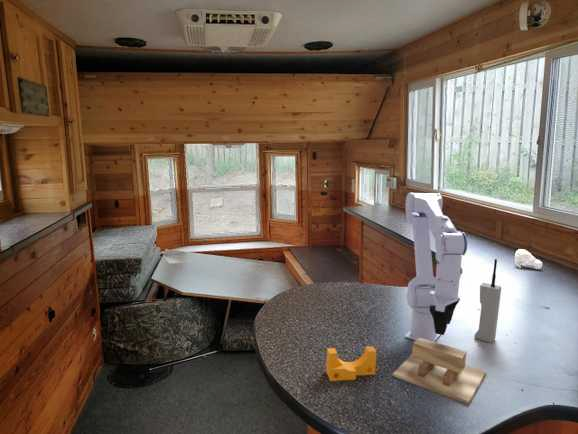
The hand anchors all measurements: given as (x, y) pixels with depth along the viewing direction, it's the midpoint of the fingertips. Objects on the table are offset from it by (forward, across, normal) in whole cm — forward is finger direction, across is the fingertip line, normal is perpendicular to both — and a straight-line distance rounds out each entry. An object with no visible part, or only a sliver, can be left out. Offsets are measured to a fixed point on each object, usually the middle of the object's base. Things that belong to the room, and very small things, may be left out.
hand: (442, 328), depth 109 cm
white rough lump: (+10, -115, +18) cm, 117 cm away
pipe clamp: (+10, +18, -18) cm, 27 cm away
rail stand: (+10, +6, +1) cm, 12 cm away
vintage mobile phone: (+10, -22, +9) cm, 26 cm away
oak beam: (+6, +6, +1) cm, 9 cm away
